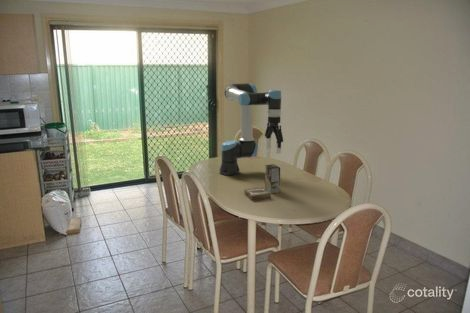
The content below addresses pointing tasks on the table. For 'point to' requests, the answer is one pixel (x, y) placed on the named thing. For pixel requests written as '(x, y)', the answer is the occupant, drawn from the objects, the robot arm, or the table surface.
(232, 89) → the robot arm
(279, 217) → the table surface
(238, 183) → the table surface
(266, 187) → the coffee box
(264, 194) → the foundation slab
